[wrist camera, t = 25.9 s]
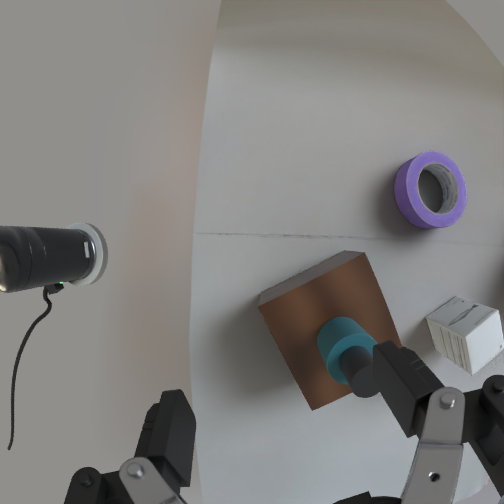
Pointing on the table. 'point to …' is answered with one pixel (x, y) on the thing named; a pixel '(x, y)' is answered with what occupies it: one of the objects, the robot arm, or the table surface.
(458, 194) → the tape roll
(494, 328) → the white packaging box
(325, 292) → the brown wooden box
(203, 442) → the table surface
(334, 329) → the teal and black cylinder
